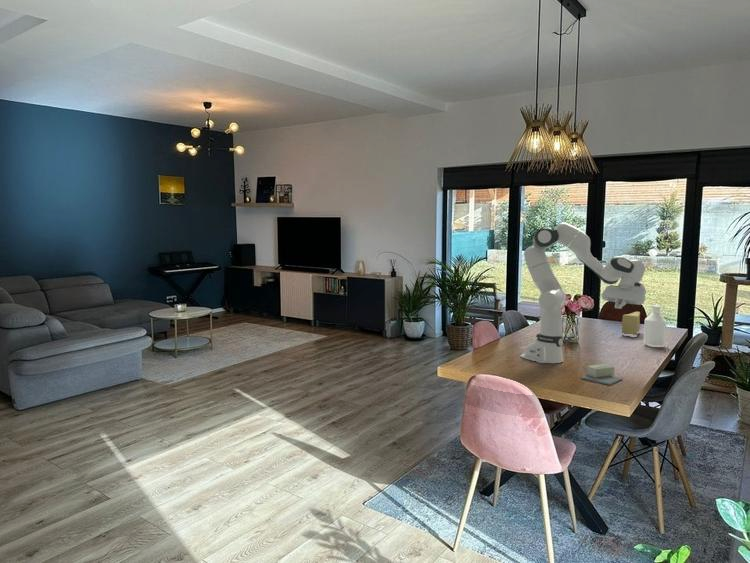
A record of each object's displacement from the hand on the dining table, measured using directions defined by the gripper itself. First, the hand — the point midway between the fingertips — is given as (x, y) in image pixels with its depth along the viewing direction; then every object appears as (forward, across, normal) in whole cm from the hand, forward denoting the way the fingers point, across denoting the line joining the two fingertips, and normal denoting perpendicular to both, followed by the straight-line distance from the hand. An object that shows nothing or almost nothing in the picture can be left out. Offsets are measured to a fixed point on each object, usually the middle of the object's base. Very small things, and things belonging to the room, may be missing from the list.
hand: (617, 307), depth 269 cm
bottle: (-34, -11, +79) cm, 87 cm away
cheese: (-52, -34, +98) cm, 116 cm away
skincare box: (+28, +2, +14) cm, 31 cm away
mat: (+37, +3, +9) cm, 38 cm away
